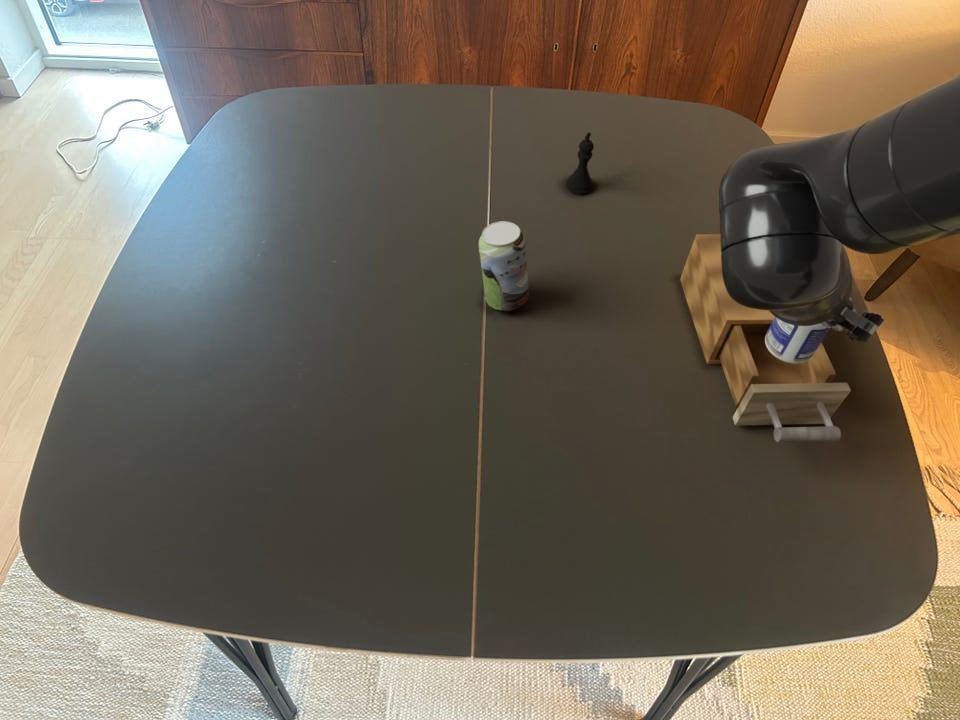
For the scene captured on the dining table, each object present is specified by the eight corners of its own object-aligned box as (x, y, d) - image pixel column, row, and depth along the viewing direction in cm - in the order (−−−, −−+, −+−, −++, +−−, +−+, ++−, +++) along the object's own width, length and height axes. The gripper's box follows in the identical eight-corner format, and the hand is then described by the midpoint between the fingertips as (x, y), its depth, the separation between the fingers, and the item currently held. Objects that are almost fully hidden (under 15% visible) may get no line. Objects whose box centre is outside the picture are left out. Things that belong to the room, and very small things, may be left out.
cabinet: (800, 362, 93) (827, 318, 87) (706, 364, 93) (727, 320, 86) (764, 278, 103) (787, 233, 96) (679, 279, 102) (696, 234, 96)
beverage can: (520, 322, 96) (528, 256, 87) (469, 308, 97) (471, 241, 88) (533, 290, 100) (542, 224, 90) (484, 277, 101) (487, 211, 92)
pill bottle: (814, 336, 79) (849, 279, 72) (811, 371, 76) (848, 314, 69) (766, 323, 80) (796, 265, 73) (760, 356, 77) (792, 299, 70)
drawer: (841, 459, 83) (868, 427, 78) (746, 461, 82) (767, 429, 77) (788, 333, 95) (808, 298, 90) (705, 334, 95) (720, 299, 89)
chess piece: (560, 188, 115) (569, 134, 107) (573, 175, 117) (582, 120, 109) (585, 198, 113) (595, 144, 105) (597, 184, 116) (608, 130, 108)
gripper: (911, 284, 56) (904, 314, 71) (756, 196, 62) (779, 240, 77) (849, 361, 58) (854, 374, 73) (703, 268, 64) (735, 298, 79)
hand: (815, 305), depth 75 cm, fingers closed on pill bottle, 5 cm apart
